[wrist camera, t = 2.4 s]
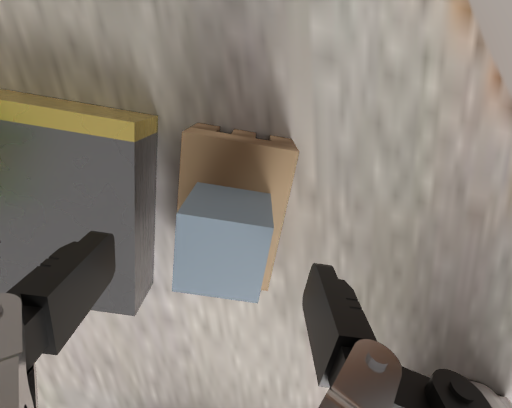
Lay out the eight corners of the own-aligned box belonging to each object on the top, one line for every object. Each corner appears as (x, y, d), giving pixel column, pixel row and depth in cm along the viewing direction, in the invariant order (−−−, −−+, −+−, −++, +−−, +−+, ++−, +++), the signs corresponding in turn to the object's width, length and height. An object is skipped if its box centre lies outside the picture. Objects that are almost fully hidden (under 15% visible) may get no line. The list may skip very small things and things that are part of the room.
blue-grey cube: (270, 193, 15) (274, 228, 11) (258, 255, 17) (257, 303, 13) (197, 181, 15) (176, 213, 11) (191, 245, 16) (172, 291, 13)
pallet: (291, 138, 18) (299, 151, 14) (266, 255, 21) (267, 290, 18) (198, 122, 18) (181, 131, 14) (188, 244, 21) (172, 277, 17)
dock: (157, 115, 17) (134, 122, 14) (153, 282, 22) (134, 316, 19) (-26, 84, 17) (-93, 83, 14) (11, 262, 22) (-32, 293, 19)
